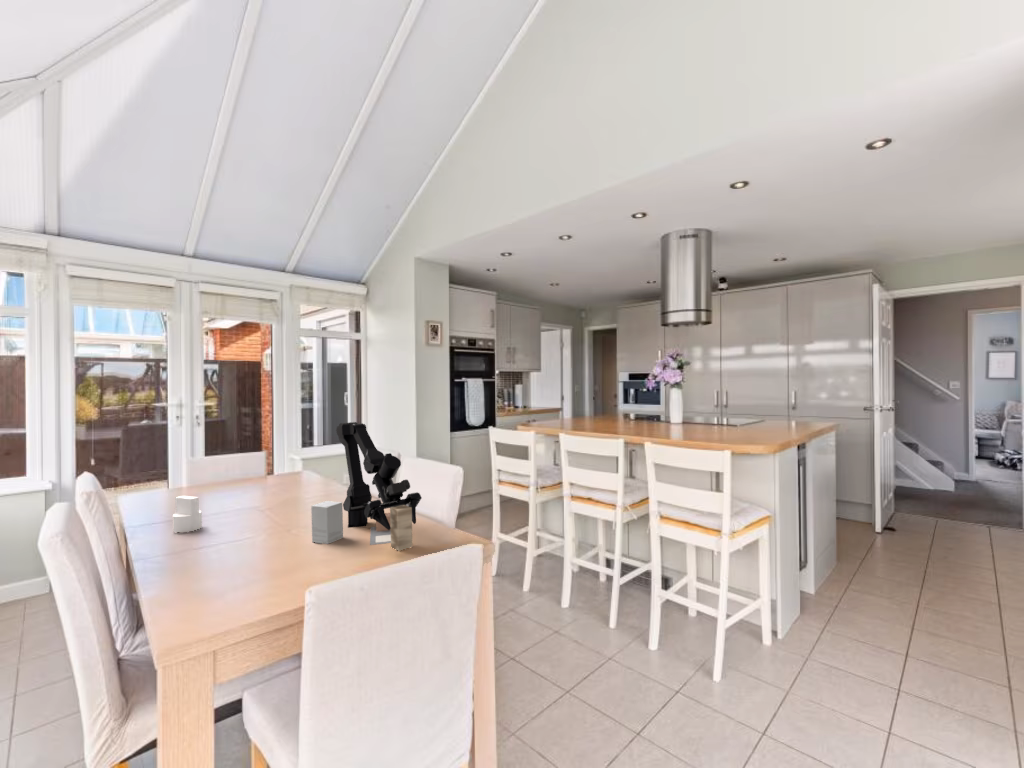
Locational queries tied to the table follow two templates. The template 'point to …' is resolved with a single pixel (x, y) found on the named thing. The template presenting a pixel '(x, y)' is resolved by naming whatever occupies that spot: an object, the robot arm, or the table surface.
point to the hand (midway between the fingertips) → (402, 526)
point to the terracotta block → (381, 527)
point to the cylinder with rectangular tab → (187, 514)
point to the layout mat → (379, 536)
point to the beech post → (401, 527)
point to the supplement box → (327, 522)
